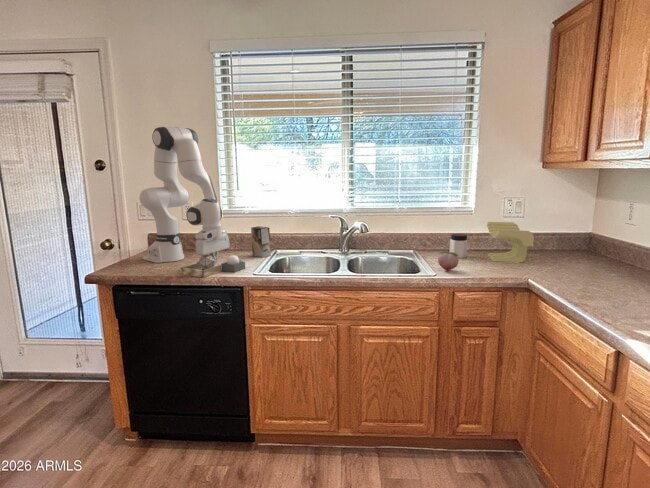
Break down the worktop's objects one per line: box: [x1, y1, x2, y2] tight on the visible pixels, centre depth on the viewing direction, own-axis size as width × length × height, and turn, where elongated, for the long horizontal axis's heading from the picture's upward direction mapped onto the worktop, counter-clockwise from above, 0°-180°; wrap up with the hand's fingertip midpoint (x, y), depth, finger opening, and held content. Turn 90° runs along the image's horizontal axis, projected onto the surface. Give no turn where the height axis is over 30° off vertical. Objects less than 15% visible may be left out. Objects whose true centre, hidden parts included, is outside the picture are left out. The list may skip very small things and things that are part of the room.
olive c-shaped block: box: [486, 221, 535, 263], centre depth 202 cm, size 30×16×18 cm, turn 167°
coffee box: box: [250, 225, 272, 258], centre depth 217 cm, size 9×6×16 cm
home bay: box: [180, 262, 222, 278], centre depth 182 cm, size 14×12×3 cm
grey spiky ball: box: [196, 254, 218, 270], centre depth 185 cm, size 9×8×10 cm
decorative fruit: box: [437, 249, 459, 272], centre depth 181 cm, size 9×8×10 cm
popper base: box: [220, 260, 246, 273], centre depth 187 cm, size 8×8×4 cm
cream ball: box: [226, 254, 240, 265], centre depth 187 cm, size 6×6×7 cm
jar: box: [449, 233, 469, 259], centre depth 210 cm, size 9×8×12 cm
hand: (214, 260), depth 189 cm, fingers closed
